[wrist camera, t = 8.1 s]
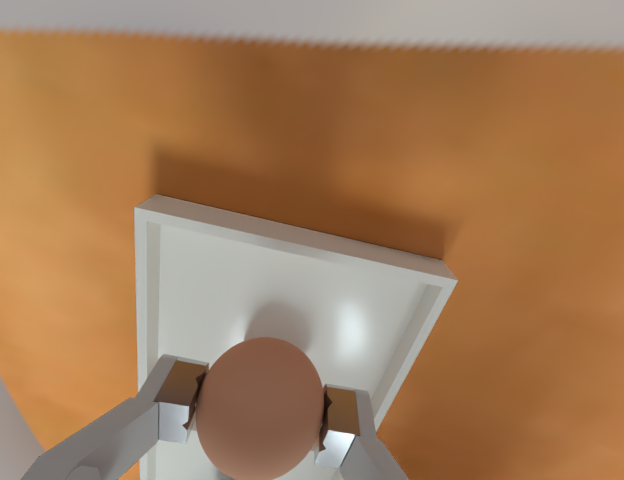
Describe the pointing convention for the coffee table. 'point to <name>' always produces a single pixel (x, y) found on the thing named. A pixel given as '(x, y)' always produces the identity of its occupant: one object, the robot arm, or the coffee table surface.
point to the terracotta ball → (259, 409)
